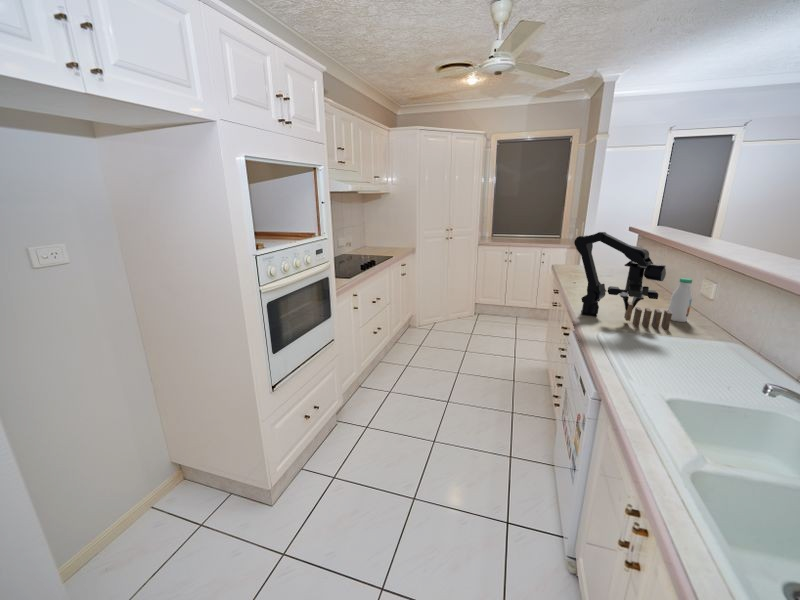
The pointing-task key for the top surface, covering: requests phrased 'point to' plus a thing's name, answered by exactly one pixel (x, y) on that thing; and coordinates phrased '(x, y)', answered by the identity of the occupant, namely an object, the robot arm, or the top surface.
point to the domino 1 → (628, 311)
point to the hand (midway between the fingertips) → (628, 310)
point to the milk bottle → (681, 301)
